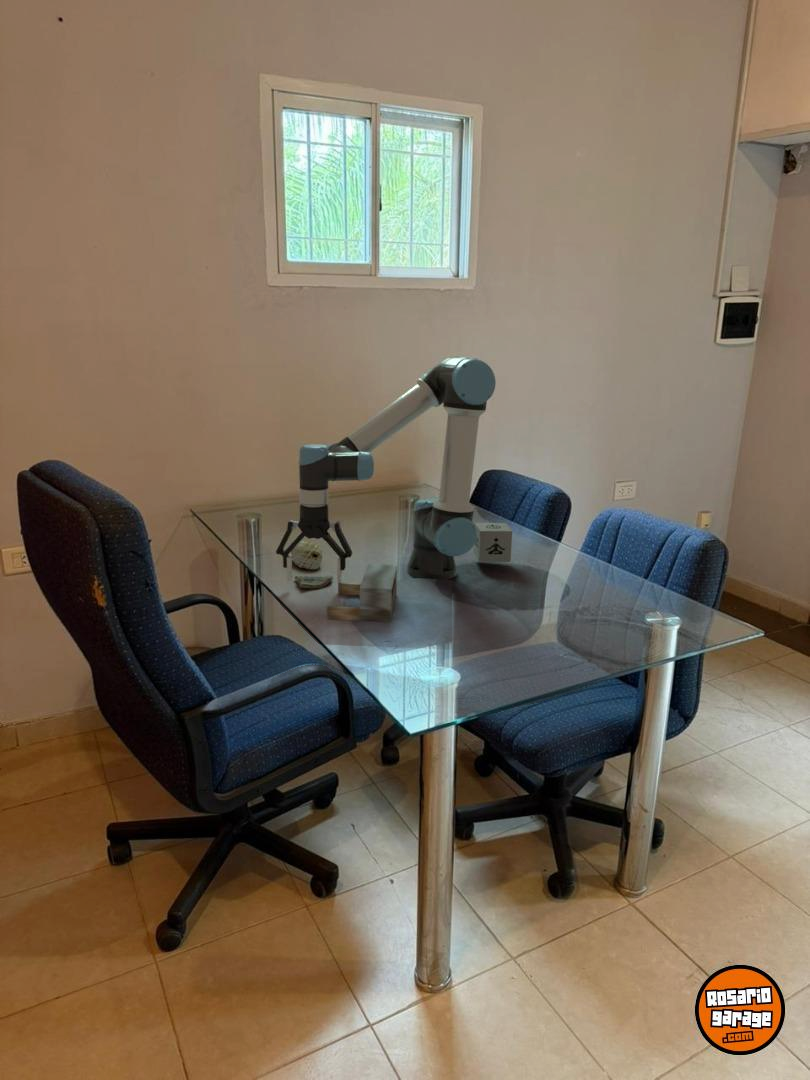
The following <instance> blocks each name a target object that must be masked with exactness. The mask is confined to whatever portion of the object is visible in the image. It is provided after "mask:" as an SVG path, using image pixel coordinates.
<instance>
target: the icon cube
mask: <svg viewBox="0 0 810 1080" xmlns="http://www.w3.org/2000/svg"><path fill="white" fill-rule="evenodd" d="M474 525H475V527H476V530H477V539H476V542H475V544H474V546H473V554H474V556H475V558H476V560H477V561H478V563H511V559H512V542H513V541H512V540H513V530H512V528H511V527H510V526H509V525H508V523H506V522H475V523H474Z"/></svg>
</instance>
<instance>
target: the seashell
mask: <svg viewBox="0 0 810 1080" xmlns="http://www.w3.org/2000/svg"><path fill="white" fill-rule="evenodd" d="M293 541H294V540H292V541H291V543H290V545H291V544H292V543H293ZM290 555H292V561H293V563H294V564H295V565H296V566H297V567H299V568H301V569H307V570H318V569H320V568H321V564H322V560H323V550H322V547H321V546H320V545H318V544H317V543H315V542H312V541H302V540H301V541H300V542H299V543H298V544H297V545H296V546H295V547H294V549H293V550H292V551H291V552H290Z"/></svg>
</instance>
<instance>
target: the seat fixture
mask: <svg viewBox="0 0 810 1080" xmlns="http://www.w3.org/2000/svg"><path fill="white" fill-rule="evenodd" d="M397 584H398V565H397V564H380V563H379V564H377V563H375V564H374V563H368V564H367V568H366V569H365V572H364V575H363V578H362V580H361V582H343V581H341V582H340V583H337V594H338V595H345V596H346V595H347V596H348V595H349V596H350V595H351V596H359V607H358V606H342V605H341V606H339V605H337V606H336V605H335V606H334V605H328V606H327V607H326V612H327V613H326V619H327V620H338V621H339V620H341V621H363V622H365V621H367V622H386V623H388V622H389V623H390V622H392V619H393V618H392V617H393V614H394V613H393V612H394V609H395V604H396V598H397V592H398V591H397V590H398V589H397Z"/></svg>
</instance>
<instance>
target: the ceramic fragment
mask: <svg viewBox="0 0 810 1080" xmlns="http://www.w3.org/2000/svg"><path fill="white" fill-rule="evenodd" d="M333 579H334V577H333V575H321V576H320V575H318V576H317V575H313V576H312V575H311V576H308V575H294V580H296V582H297V583H298V585H299V587H300V588H304V589H322V588H323V587H325V586H327V585H328V584H329V583H330V582H332V581H333Z"/></svg>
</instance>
